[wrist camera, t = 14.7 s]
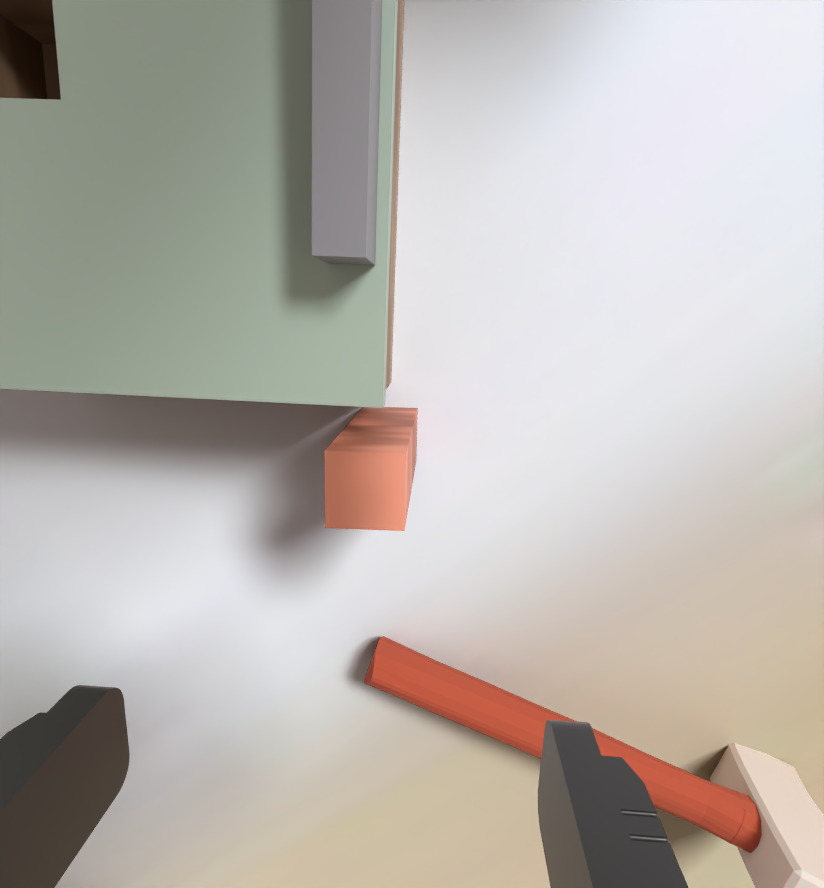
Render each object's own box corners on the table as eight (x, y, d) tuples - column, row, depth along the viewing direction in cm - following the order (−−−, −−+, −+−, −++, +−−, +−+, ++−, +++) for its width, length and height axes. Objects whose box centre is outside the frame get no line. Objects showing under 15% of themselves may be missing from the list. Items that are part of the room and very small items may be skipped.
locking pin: (417, 408, 34) (405, 453, 23) (416, 460, 35) (404, 530, 24) (363, 406, 35) (324, 450, 23) (363, 459, 35) (325, 527, 24)
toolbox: (410, -170, 28) (396, -394, 19) (391, 382, 34) (374, 403, 25) (26, -174, 29) (-155, -390, 20) (76, 367, 35) (-45, 382, 26)
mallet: (341, 726, 33) (860, 967, 29) (359, 676, 32) (895, 918, 28) (384, 635, 43) (771, 804, 39) (399, 596, 42) (795, 766, 38)
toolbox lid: (410, -396, 19) (403, -579, 15) (385, 404, 25) (374, 420, 21) (-170, -392, 20) (-318, -565, 16) (-56, 382, 26) (-143, 393, 22)
